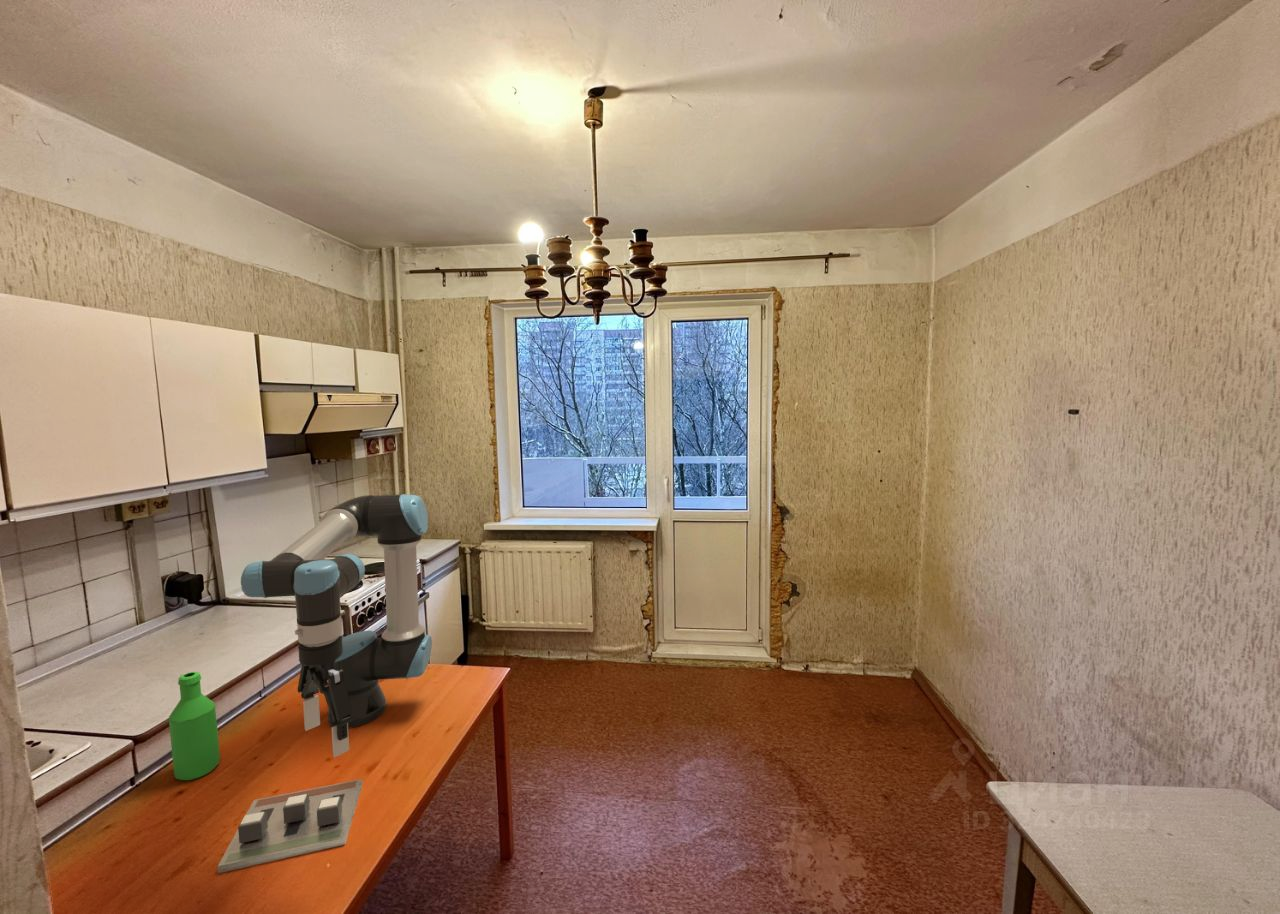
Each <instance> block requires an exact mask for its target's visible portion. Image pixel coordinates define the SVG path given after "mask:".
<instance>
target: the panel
mask: <svg viewBox="0 0 1280 914" xmlns="http://www.w3.org/2000/svg"><path fill="white" fill-rule="evenodd" d="M362 786H363V779H362V778H361V779H355V780H349V781H345V782H339V783H334V784H330V785H325V786H318V787H315V788H309V789H303V790H298V791H294V792H293V791H292V792H289V793H282V794H277V795H273V796H267V797H263V798H256V799H253V802H252V803H251V804H250V807H249V808H248V810H247V812H246V814H245V815H250V814H255V813H260V812H267V824H268V828H267V830H266V832H265V834H264V836H263V838H262V839H258V840H253V841H248V842H244V843H239V833H238V829H237V830H236V832H235V833H234V835H233V837H232V839H231V841H230V842H229V844H228V847H227V848H226V850H225V852H224V854H223V856H222V857H221V860H220V862H219V863H218V865H217V874H222V873H225V872H230V871H234V870H238V869H243V868H248V867H253V866H257V865H260V864H265V863H270V862H275V861H278V860H283V859H287V858H291V857H297V856H301V855H302V856H303V855H305V854H309V853H313V852H314V853H315V852H319V851H325V850H327V849H332V848H336V847H341V846H346V842H347V840H348V836H349V832H350V830H351V825H352V823H353V818H354V815H355V811H356V808H357V805H358V801H359V798H360V794H361V791H362ZM304 794H307V795H308V794H309V805H310V810H309V812H308V815H307V817H306V819H305V820H300V821H296V822H291V823H286V824H284V814H283V808H284V806H285V803H286V801H287V799H288V798H289V797H294V796H299V795H304ZM334 797H341V799H342V814H341V817H340V820H339V822H337V823H332V824H328V825H323V826H318V823H317V809H318V807H319V804H320V801H321V800H324V799H329V798H334Z"/></svg>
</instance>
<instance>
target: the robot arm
mask: <svg viewBox="0 0 1280 914" xmlns="http://www.w3.org/2000/svg"><path fill="white" fill-rule="evenodd" d="M425 504H426V503H425V502H424V500H423V499H422V497H420V496H419V495H417V494H416V495H415V494H405V493H404V494H399V493H398V494H377V495H371V494H370V495H360V496H357V497H354V498H350V499H348V500H346V501H344V502H342V503H340V504H337V505H336V506H334V507H332V508H331V509H329V510H328V511H327V512H326V513H324V514H323V515H322V517H321V519H320V521H319V523H317V524H316V525H315V526H314V527H312V528H311V529H310V530H308V531H307V532H306V533H305V534H303V535H302V536H300V537H299V538H298V539H296V540H295V541H294V542H293V543H292V544H290V545H289V546H288V547H286V548H285V549H284V550H282V551H281V552H280V553H278V554H277V555H276V556H275V557H274V558H272V559H271V560H261V561H253V562H250V563H249V564H247V565H246V566H245V568H243V571H242V573H241V577H240V587H241V591H242V592H243V595H245V596H247V597H248V598H264V599H267V598H279V597H294V600H295V610H296V611H295V612H296V627H297V629H295V630H294V634H295V635H296V636H297V641H298V643H299V645H298V646H297V648H298V649H297V650H298V660H299V661H298V662H299V663H300V664H301V666H300V671H299V672H300V674H299V678H298V684H297V692H298V694H300V696H301V697H300V698H302V699H303V700H302V707H303V720H304V721H303V723H304V730H305V732H307V731H309V730H311V729H314V728H316V727H318V726H320V725H321V716H320V715H321V714H320V699H319V698H320V697H319V695H318V694H319V693H320V694H322V695H324V699H325V702H326V705H327V708H328V711H327V721H328V724H329V728H331V742H332V757H334V758H336V757H338V756H341V755H342V754H344V753H346V752H348V751H350V738H349V737H350V736H349V735H350V734H349V728H350V729H351V728H355V727H360V726H363V725H366V724H369V723H371V722H372V721H374V720H376V719H378V718H379V717H381V715H383V714H384V713H385V711H386V710H387V709H386V708H387V699H386V696H385V694H384V692H383V690H382V687H381V685H380V683H379V681H380V680H381V681H382V680H383V681H384V680H397V679H398V680H399V679H407V680H408V679H411V678H419V677H421V676H423V675H424V674H425V672H426V671H427V668H428V666H429V662H430V658H431V654H432V648H433V646H432V645H433V640H432V635H429V634H425V631H426V629H425V627H424V626H423V625H422V624H420V622H419V619H420V618H419V589H418V587H419V586H418V565H417V563H418V561H417V545H418V544H419V543H420V542H421V541H422V536H423V535H425V534H426V533H427V531H428V523H429V517H428V516H429V515H428V510H427V507H426V505H425ZM357 537H376V538H377V545H379V546H380V547H382V548H383V561H384V584H385V586H384V588H385V590H384V591H385V605H386V606H385V610H386V611H385V612H386V613H385V614H386V629H385V630H384V631H382V633H381V637H378V635H377V633H376V632H375V631H374V630H373V631H372V630H363V631H362V630H361V631H358V632H354V633H351V634H348V635H346V636H343V637H342V633H343V624H342V622H343V621H342V613H341V598H343V596H345V595H346V594H347V593H348V592H350V591H351V590H353V589H355V588H356V587H357V585H358V584H359V583H360V582H361V581H362V580H363V578H364V575H365V573H366V568H365V564H364V562H363V560H362V559H361V558H360V557H358V556H357V555H355V554H352V553H346V554H340V555H338V556H335V557H334V558H332V559H331V558H327V557H328V556H329V555H330V554H332V552H334V551H335V550H336V549H337V548H338V547H339V546H340V545H341V544H342V543H347V542H349V541H351V540H352V539H354V538H357ZM326 558H327V559H326Z"/></svg>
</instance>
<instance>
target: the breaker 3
mask: <svg viewBox="0 0 1280 914" xmlns="http://www.w3.org/2000/svg"><path fill="white" fill-rule="evenodd" d="M341 814H342V799H341V797H334V798H329V799H324V800H321V801H320V804H319V807H318V809H317V823H318V826H323V825H328V824H332V823H337V822H339V820H340V817H341Z"/></svg>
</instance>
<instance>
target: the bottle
mask: <svg viewBox="0 0 1280 914" xmlns="http://www.w3.org/2000/svg"><path fill="white" fill-rule="evenodd" d="M201 680H202V676H201V673H200V672H198V671H191V672H189V671H188V672H186V673H184V674H182V675H181V676H179V677H178V681H177V685H178V686H179V692H180V693H179V694H180V700H179V701H178V703H177V704H176V706H175V707H174V708H173V710H172V712H171V713H170V714H169V716H168V724H169V727H168V728H169V735H170V744H171V745H170V746H171V747H170V748H171V755H172V768H173V775H174V776H173V777H174V778H175V779H176V780H180V781H192V780H196V779H198V778H202V777H204V776H206V775H208V774H209V773H211V772H212V771H213V770H214V769H216V767H217V766H218V765H219V764H220V761H221V757H220V755H221V754H220V743H219V742H220V741H219V731H218V730H219V729H218V721H217V713H216V712H217V711H216V704H215V702H214V701H213V700H211V699H210V698H208V697H207V696H206V695H204V694H202V688H201V686H202V685H201Z"/></svg>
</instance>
